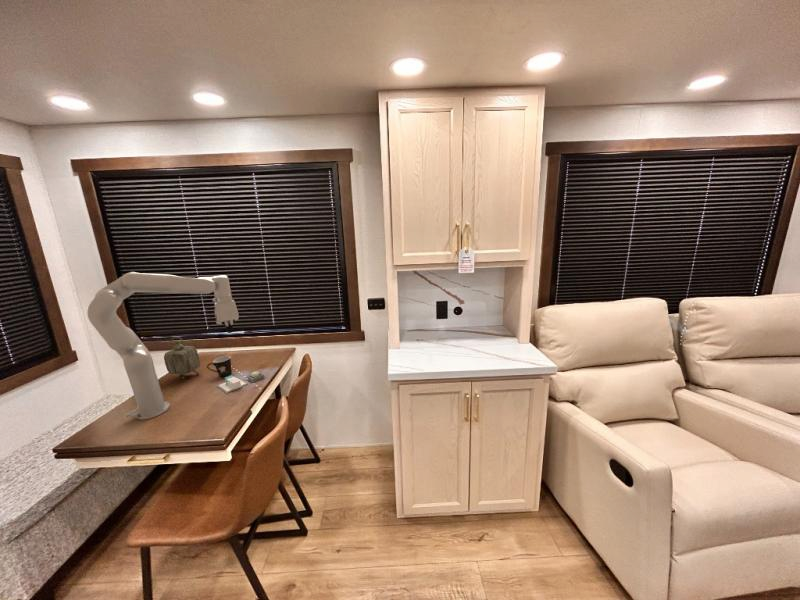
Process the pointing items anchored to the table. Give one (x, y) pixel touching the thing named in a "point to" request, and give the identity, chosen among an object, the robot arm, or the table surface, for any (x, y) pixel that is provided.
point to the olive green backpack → (182, 359)
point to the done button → (255, 374)
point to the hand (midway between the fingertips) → (229, 332)
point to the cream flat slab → (228, 389)
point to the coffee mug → (222, 366)
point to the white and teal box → (233, 382)
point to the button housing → (255, 378)
